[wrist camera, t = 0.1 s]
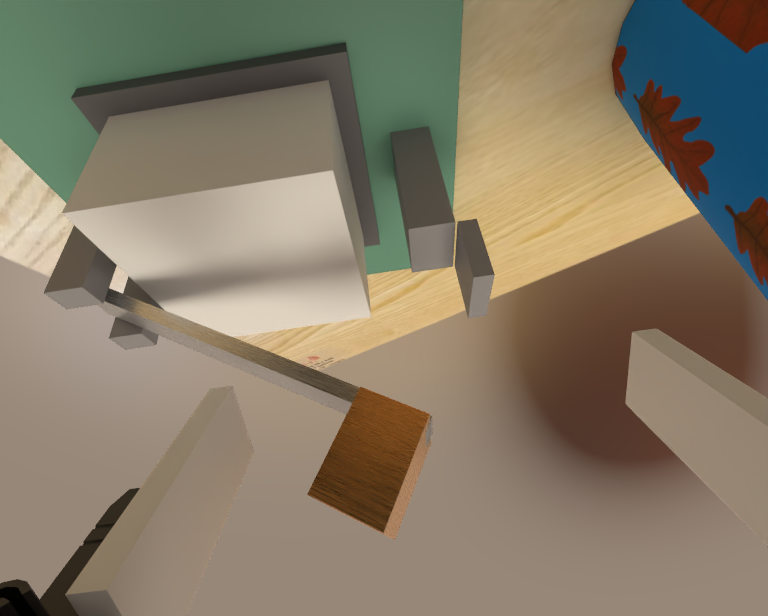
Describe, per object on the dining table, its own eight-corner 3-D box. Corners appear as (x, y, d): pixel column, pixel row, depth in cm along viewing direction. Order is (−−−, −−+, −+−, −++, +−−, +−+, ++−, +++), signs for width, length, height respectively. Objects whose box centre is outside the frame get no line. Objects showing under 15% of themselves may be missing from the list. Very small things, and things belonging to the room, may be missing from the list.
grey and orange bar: (75, 269, 17) (4, 339, 16) (431, 408, 12) (383, 533, 11) (128, 312, 20) (73, 375, 19) (432, 438, 15) (394, 540, 14)
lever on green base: (-124, -11, 15) (-421, 182, 9) (462, -119, 14) (576, 14, 8) (172, 293, 32) (139, 432, 26) (447, 252, 31) (481, 385, 25)
